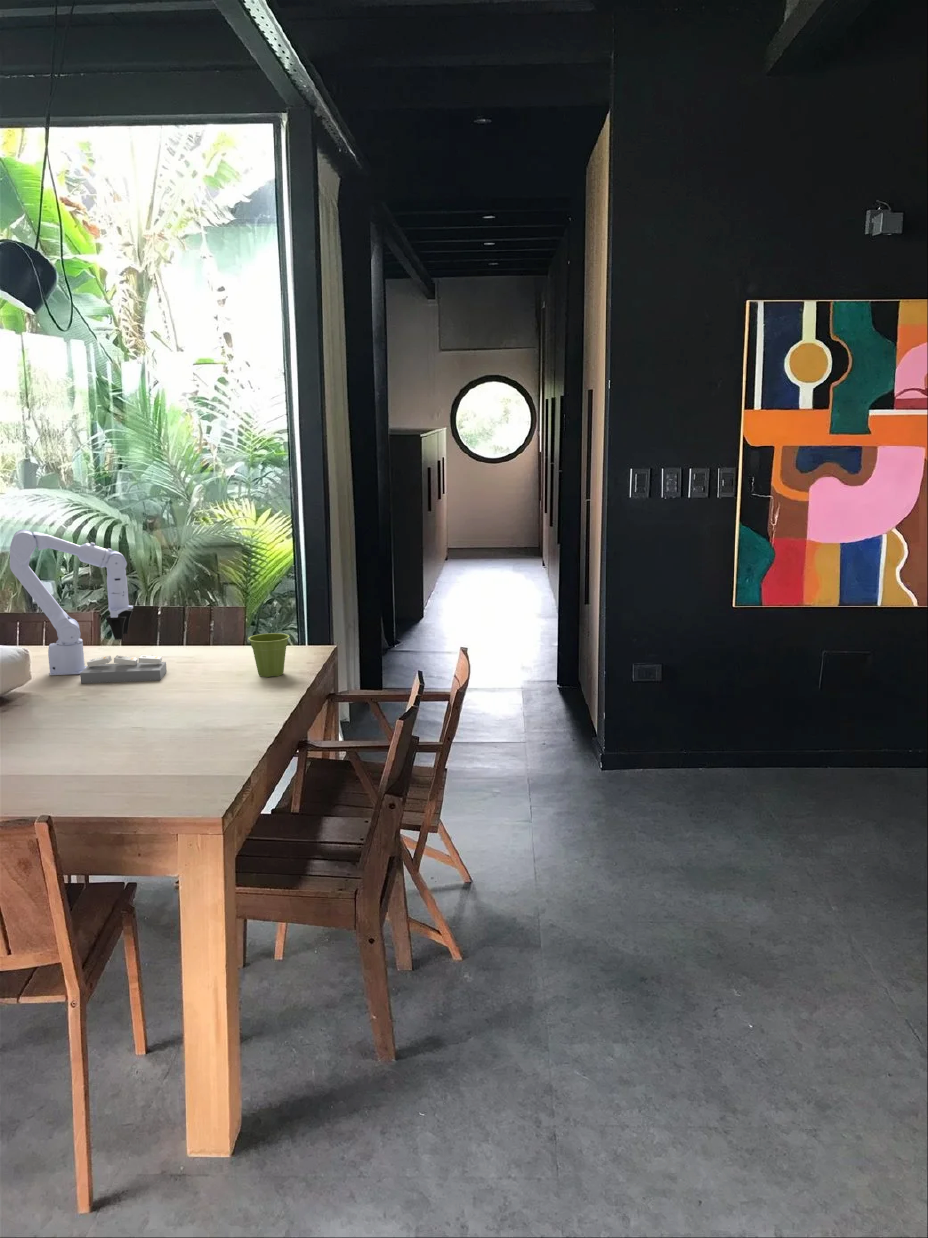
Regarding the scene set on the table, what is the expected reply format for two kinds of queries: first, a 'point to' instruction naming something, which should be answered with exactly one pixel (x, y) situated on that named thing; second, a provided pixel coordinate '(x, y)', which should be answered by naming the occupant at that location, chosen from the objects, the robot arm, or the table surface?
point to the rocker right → (150, 659)
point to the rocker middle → (126, 660)
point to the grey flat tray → (123, 672)
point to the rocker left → (99, 661)
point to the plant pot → (269, 653)
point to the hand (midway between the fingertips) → (121, 636)
